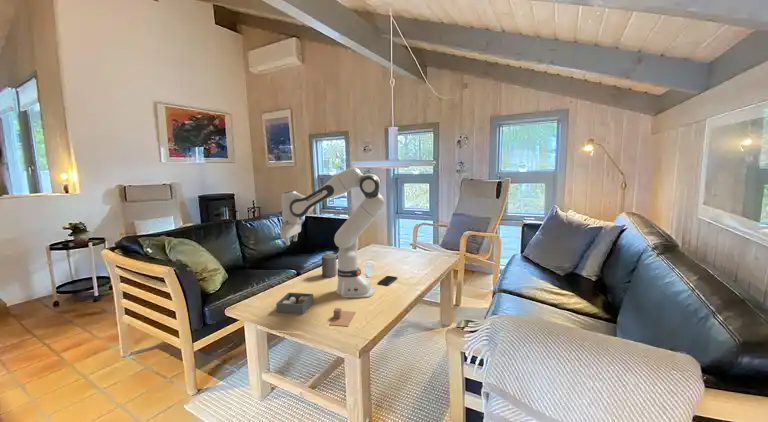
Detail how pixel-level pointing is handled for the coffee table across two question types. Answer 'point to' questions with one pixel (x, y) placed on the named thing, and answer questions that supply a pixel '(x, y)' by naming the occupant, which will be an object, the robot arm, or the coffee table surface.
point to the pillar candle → (329, 265)
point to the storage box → (295, 307)
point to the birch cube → (302, 299)
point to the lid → (342, 317)
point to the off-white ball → (293, 300)
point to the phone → (387, 280)
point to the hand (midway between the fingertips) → (291, 242)
